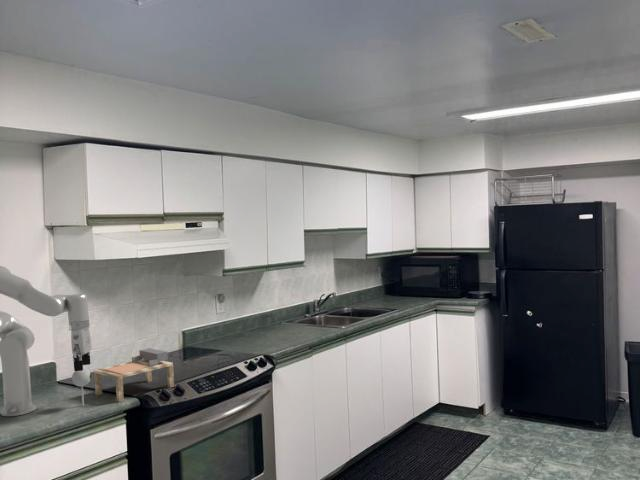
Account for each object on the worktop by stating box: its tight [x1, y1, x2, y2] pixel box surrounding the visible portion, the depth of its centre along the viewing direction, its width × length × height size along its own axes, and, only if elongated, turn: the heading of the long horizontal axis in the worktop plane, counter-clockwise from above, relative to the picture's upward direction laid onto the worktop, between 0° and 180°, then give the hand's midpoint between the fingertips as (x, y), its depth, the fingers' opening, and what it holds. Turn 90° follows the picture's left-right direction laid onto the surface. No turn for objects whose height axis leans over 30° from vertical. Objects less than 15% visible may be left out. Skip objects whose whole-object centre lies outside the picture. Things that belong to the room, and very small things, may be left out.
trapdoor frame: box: [93, 359, 175, 403], centre depth 254 cm, size 26×19×10 cm
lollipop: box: [71, 367, 92, 407], centre depth 235 cm, size 7×7×15 cm
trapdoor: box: [105, 347, 168, 375], centre depth 255 cm, size 22×14×6 cm, turn 139°
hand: (82, 367), depth 235 cm, fingers open, 9 cm apart
